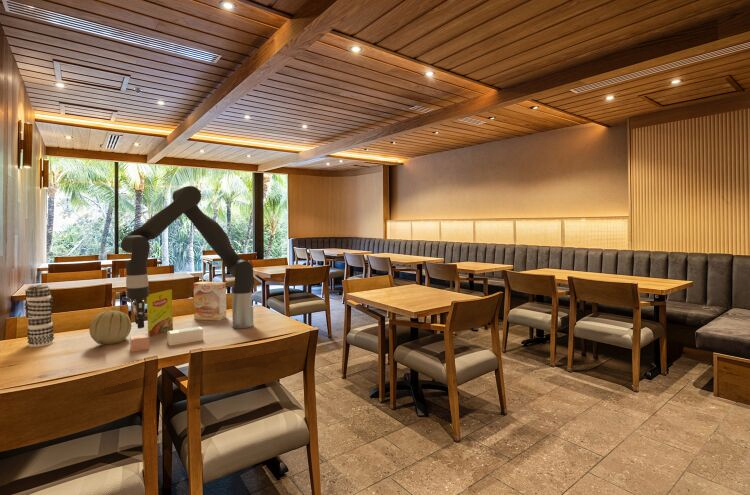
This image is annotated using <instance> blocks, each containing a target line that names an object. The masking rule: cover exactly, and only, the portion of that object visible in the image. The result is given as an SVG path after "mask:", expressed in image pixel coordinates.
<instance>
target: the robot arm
mask: <svg viewBox="0 0 750 495" xmlns="http://www.w3.org/2000/svg"><path fill="white" fill-rule="evenodd" d="M201 200H202V193H201V190H199V188H198V187H196V186H194V185H185V186H183V187H180V188H178V189H176V190H174V191H173V193H172V202H171V203H169V205H167V206H166V207H164V208H163V209H160V210H158V212H157V213H155V214H154V215H153V216H151V217H150V218H149V219H148V220H146V221H145V223H143V224H142V225H141V226H139V227H137V228H136V229H134V230H132V231H131V232H129V233H128V234H126V235H125V236H124V237H123V238H122V240H121V242H120V248H121V250H122V251H124V253H127V254H131V256H130V259H129V260H127V261H126V263H125V271H126V278H125V285H126V298H127V299H129V300H132V301H133V302H131V304H132V311H133V314H134V321H135V324H136V325H137V329H144V328H145V318H146V314H145V312H146V308H145V306H146V303H145V301H144V299H147V297H148V296H149V294H150V288H149V277H148V266H147V263H148V260H149V259H148V258H149V254H150V249H151V248H150V242H149V241H151V240H154V239H157V238H158V237H159V236H160V235H162V233H163V232H164V231H165V230H167V229H168V228H169V226H170V225H172V224H173V223H174V222H175V221H176V220H177V219H178V218H179V217H181V216H182V215H183V214H184V215H185V217H186V218H187V219H188V220H189V221H190V222H191V223H192V224H193V226H194V227H195V228H196V230H197V231H198V232H199V233H200V235H201V236H202V237H203V239H204V241H206V242H207V244H208V246H209V247H210V248H211V249H212V250H213V251H214V252H215V253H216V255H217V256H218V257H219V258H220V259H221V261H222V263H223V264H224V266H225V268H227V271H228V272H229V273H230V275H231V276H232V277H234V285H233V286H232V287H231V304H232V305H231V307H232V309H231V311H232V315H231V316H232V328H233V329H247V328H250V327H251V328H252V327H253V326H254V306H253V302H252V300H253V299H252V297H253V296H252V295H253V294H252V292H253V291H252V290H253V286H254V266H253V264H252V263H251V262H250V261H248V260H245V259H242V258H241V257H240V256H239V254H238V253H236V251H235V250H234V249H233V245H232V244H231V241H230V239H229V236H228V235H227V233H226V232H225V230H224V228H223V227H222V226H221V225H220V224H219V223H218V222H217V221H216V220H214V219H213V218H212V217H210V216H208V215H207V214H205V213H204V212H203V211H202V210H201V209H200V207H199V206H198V204H199V203H200V202H201Z"/></svg>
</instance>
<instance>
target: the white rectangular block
mask: <svg viewBox="0 0 750 495" xmlns="http://www.w3.org/2000/svg"><path fill="white" fill-rule="evenodd" d="M166 333H167V334H166V336H167V338H166V340H167V344H168V346H174V345H181V344H187V343H192V342H198V341H204V329H203V327H201V326H191V327H187V328H186V327H185V328H181V329H173V330H172V331H167V332H166Z"/></svg>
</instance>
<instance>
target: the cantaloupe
mask: <svg viewBox="0 0 750 495" xmlns="http://www.w3.org/2000/svg"><path fill="white" fill-rule="evenodd" d="M131 330H132V320H131V319H130V317H129V315H128V314H126V313H125V312H123V311H121V310H116V308H115V307H113V308H112V310H111V309H109V310H104V311H101V312H100V313H98V314H96V315H95V316H94V317H93V319H92V321H91V322H90V324H89V330H88V331H89V332H88V333H89V335H90V337H91V338H92V341H94V342H95V343H97V344H99V345H103V346H106V345H112V344H113V345H114V344H118V343H122V342H123V341H124V340H126V339H127V338H128V336H129V335H130V334H131Z"/></svg>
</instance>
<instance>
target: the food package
mask: <svg viewBox="0 0 750 495" xmlns="http://www.w3.org/2000/svg"><path fill="white" fill-rule="evenodd" d="M146 310H147V311H146V314H147V334H148V336H149V338H151V337H153V336H157V335H159V334H162V333H167V331H172V330H174V318H173V316H174V315H173V290H172V289H166V290H162V291H158V292H154V293H149V296H148V297H146Z"/></svg>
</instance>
